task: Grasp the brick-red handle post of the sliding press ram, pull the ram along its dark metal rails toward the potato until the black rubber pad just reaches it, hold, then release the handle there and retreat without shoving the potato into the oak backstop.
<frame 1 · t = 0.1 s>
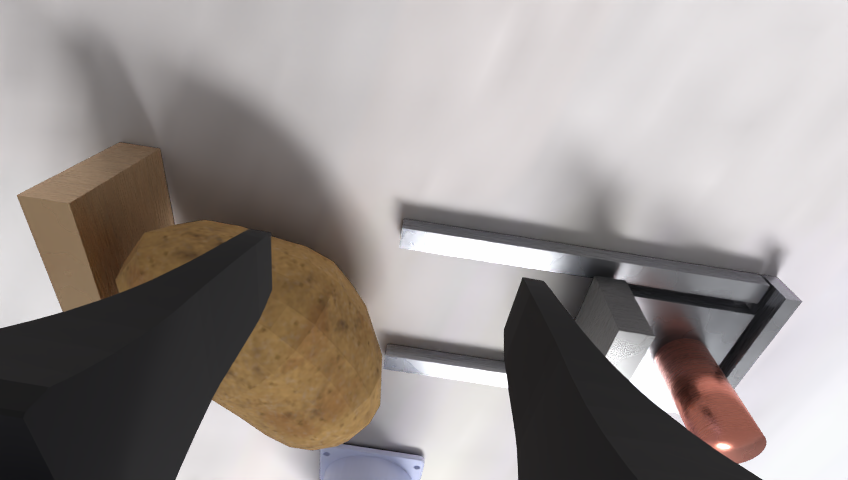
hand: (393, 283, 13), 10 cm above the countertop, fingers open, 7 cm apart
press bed: (394, 295, 26), on the countertop
ram: (658, 381, 23), point 4 cm above the countertop, slide at 0.0 cm
potato: (293, 276, 26), on the countertop
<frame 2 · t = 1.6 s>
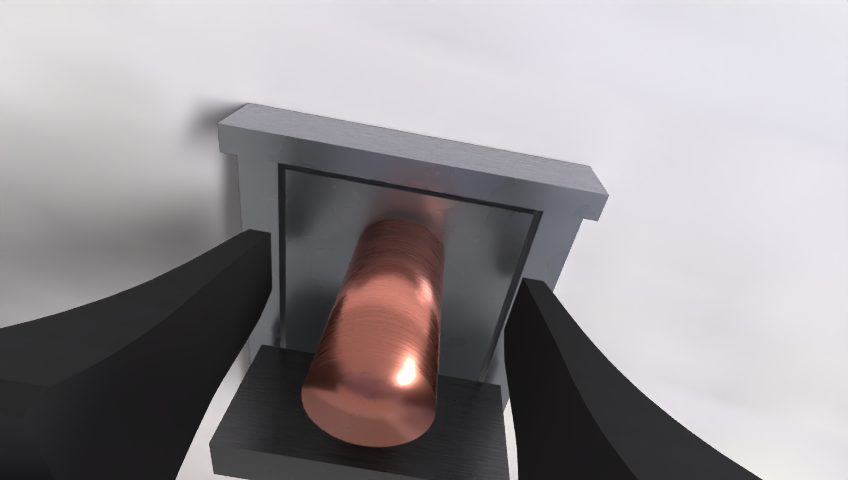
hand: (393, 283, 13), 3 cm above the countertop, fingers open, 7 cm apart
ram: (381, 355, 13), point 4 cm above the countertop, slide at 0.0 cm
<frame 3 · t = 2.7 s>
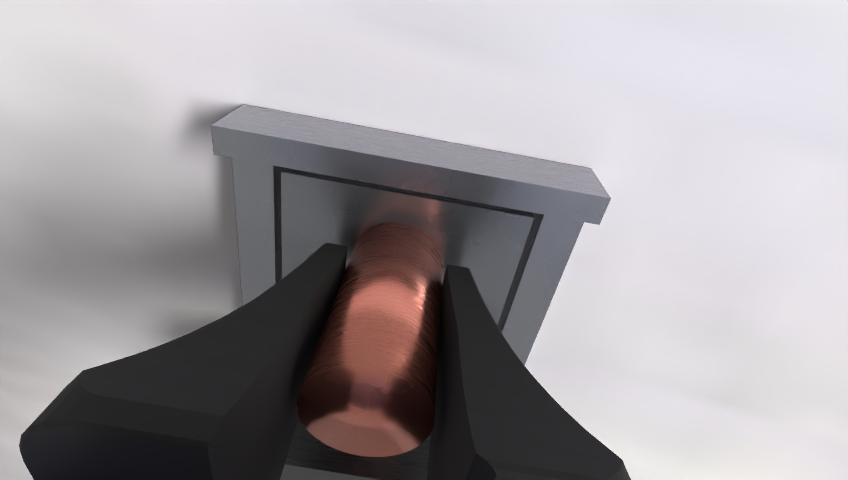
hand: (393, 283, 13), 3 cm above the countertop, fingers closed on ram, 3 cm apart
ram: (379, 361, 13), point 4 cm above the countertop, slide at 0.0 cm, touching gripper
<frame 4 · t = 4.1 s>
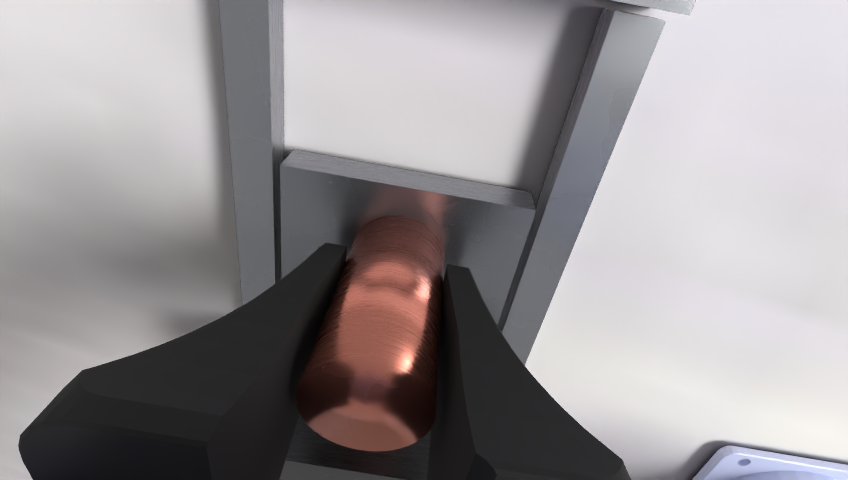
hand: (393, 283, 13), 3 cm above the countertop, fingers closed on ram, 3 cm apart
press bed: (370, 438, 21), on the countertop
ram: (380, 356, 13), point 4 cm above the countertop, slide at 4.9 cm, touching gripper
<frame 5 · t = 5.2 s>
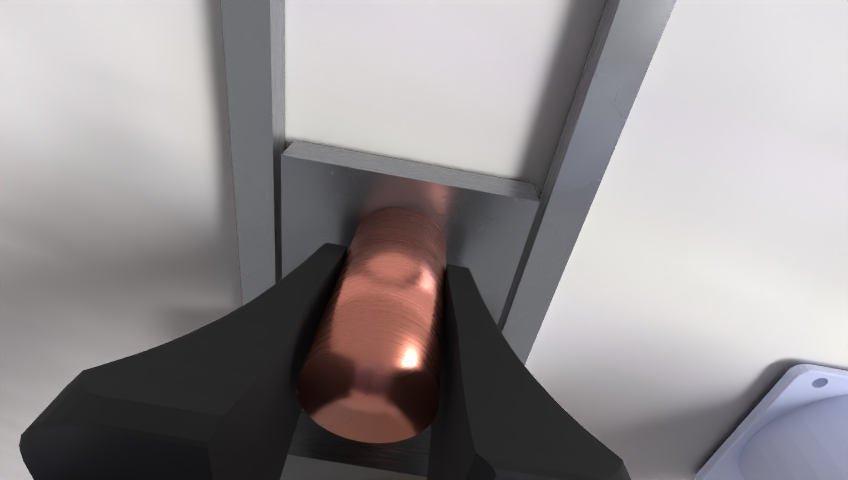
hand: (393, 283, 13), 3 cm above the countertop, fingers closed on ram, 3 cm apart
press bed: (382, 362, 18), on the countertop
ram: (381, 348, 13), point 4 cm above the countertop, slide at 9.8 cm, touching gripper, potato
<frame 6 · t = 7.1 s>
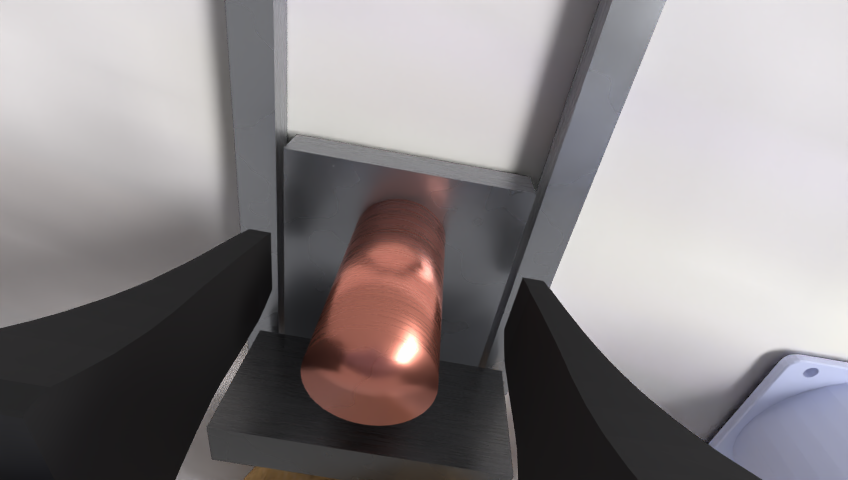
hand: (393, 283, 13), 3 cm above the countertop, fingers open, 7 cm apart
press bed: (382, 354, 18), on the countertop
ram: (381, 338, 13), point 4 cm above the countertop, slide at 9.8 cm
potato: (368, 435, 22), on the countertop
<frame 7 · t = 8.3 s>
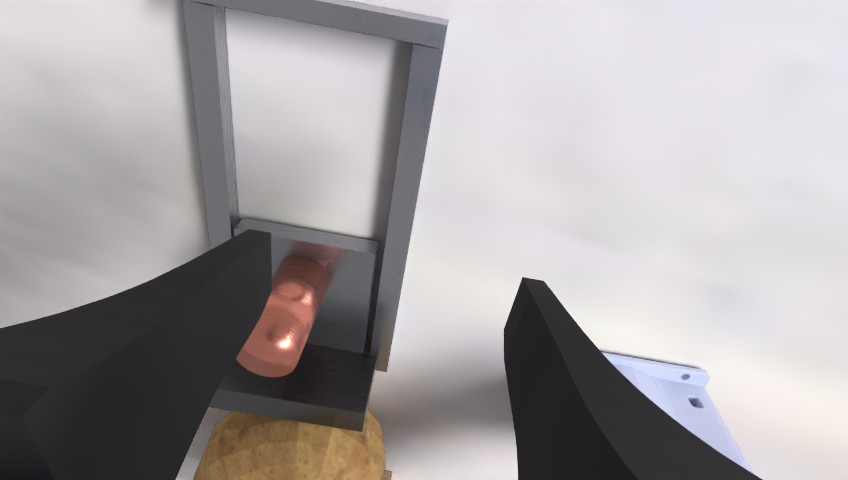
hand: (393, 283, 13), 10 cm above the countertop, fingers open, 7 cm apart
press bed: (308, 346, 28), on the countertop
ram: (290, 334, 23), point 4 cm above the countertop, slide at 9.8 cm
potato: (307, 402, 32), on the countertop
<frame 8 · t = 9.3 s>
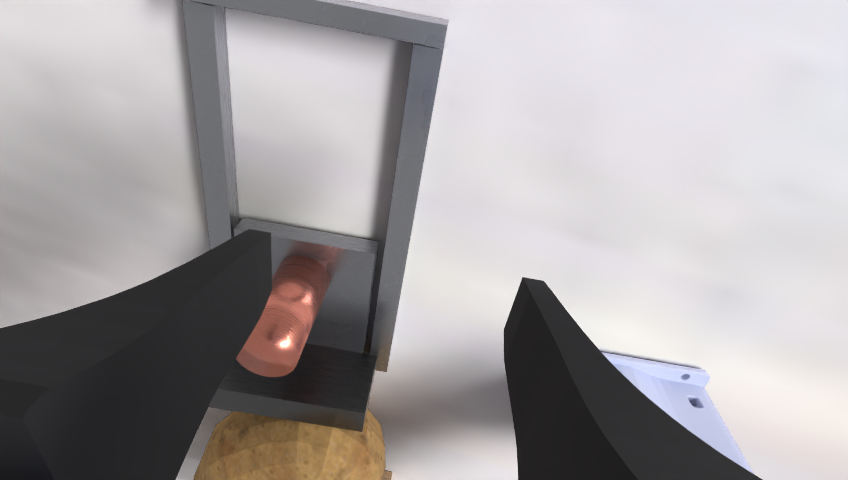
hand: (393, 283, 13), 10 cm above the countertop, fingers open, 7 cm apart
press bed: (308, 346, 28), on the countertop
ram: (290, 334, 23), point 4 cm above the countertop, slide at 9.8 cm
potato: (307, 402, 32), on the countertop
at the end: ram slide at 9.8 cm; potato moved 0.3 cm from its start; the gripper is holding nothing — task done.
